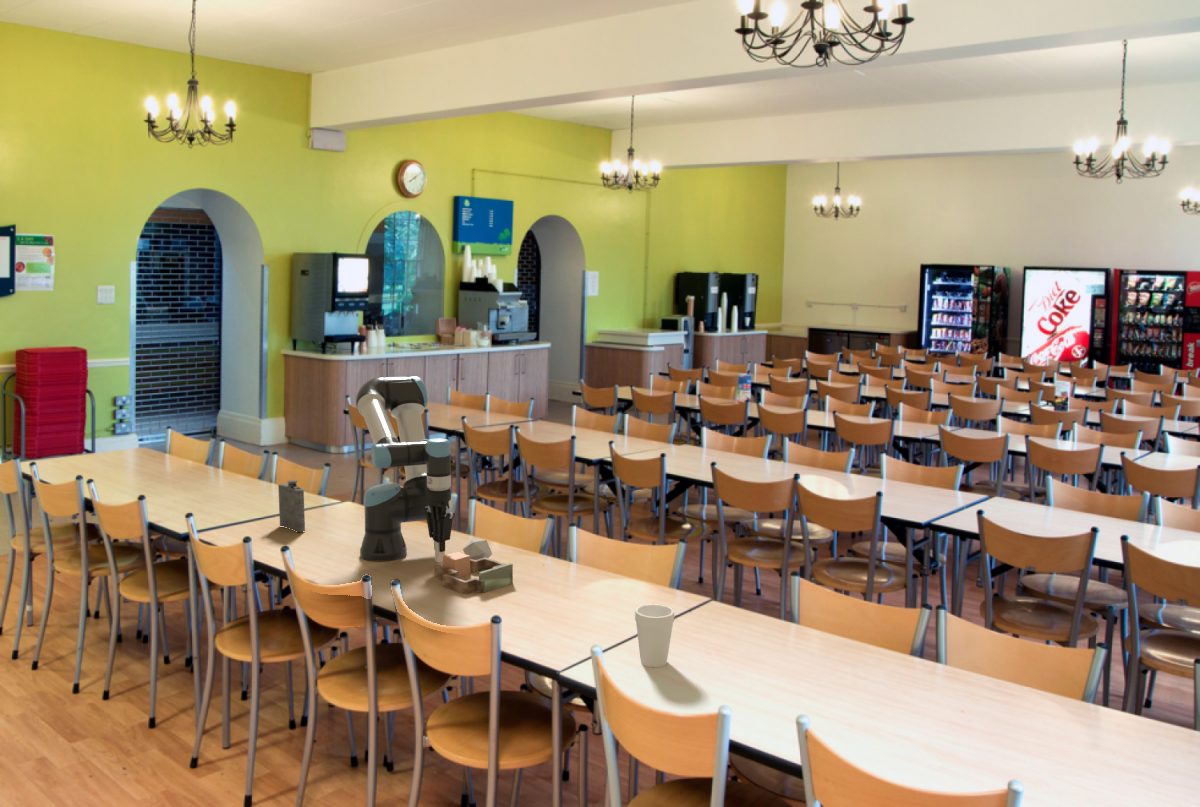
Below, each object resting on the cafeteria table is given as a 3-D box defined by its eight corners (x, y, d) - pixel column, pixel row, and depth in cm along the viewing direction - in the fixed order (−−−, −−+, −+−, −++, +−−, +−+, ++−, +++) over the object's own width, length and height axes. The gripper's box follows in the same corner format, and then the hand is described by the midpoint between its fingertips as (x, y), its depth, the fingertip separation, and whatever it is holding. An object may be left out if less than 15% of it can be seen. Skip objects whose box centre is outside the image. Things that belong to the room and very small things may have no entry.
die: (496, 563, 309) (487, 536, 313) (491, 557, 301) (482, 530, 305) (472, 572, 309) (464, 545, 312) (467, 567, 301) (458, 539, 304)
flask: (287, 524, 351) (285, 476, 348) (308, 531, 342) (307, 482, 339) (278, 526, 348) (276, 478, 346) (299, 533, 339) (297, 484, 336)
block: (442, 574, 296) (442, 555, 295) (458, 570, 300) (457, 551, 299) (455, 578, 292) (455, 559, 291) (470, 574, 296) (470, 555, 295)
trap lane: (424, 579, 290) (424, 560, 289) (475, 564, 305) (475, 546, 304) (471, 596, 276) (471, 576, 275) (522, 580, 291) (522, 561, 290)
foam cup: (632, 654, 235) (633, 604, 233) (669, 653, 236) (670, 603, 234) (637, 670, 226) (638, 618, 224) (675, 669, 226) (676, 617, 225)
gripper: (416, 486, 299) (417, 559, 302) (442, 493, 290) (443, 567, 294) (435, 483, 305) (436, 554, 308) (461, 489, 296) (462, 562, 299)
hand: (439, 560), depth 301 cm, fingers closed
